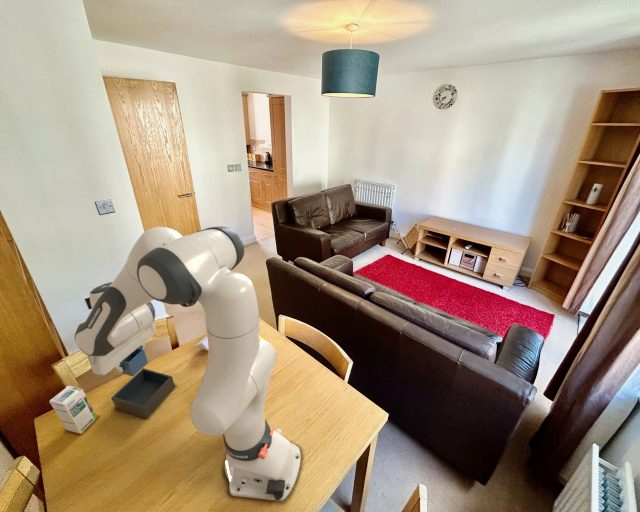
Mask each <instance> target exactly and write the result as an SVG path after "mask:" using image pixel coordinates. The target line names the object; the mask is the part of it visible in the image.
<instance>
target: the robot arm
mask: <svg viewBox="0 0 640 512" xmlns="http://www.w3.org/2000/svg"><path fill="white" fill-rule="evenodd" d="M244 256H245V247H244V243H243V240H242V239H241V237H240V235H239V234H238V233H237V232H236V231H235V230H233V229H232V228H230V227H228V226H212V227H207V228H204V229H200V230H198V231H196V232H193V233H191V234H186V235H182V234H181V233H180V232H179V231H177V230H175V229H174V228H170V227H167V226H154V227H151V228H149V229H146V230H145V231H144V232H142V234H141V235H140V236H139V237H138V239H137V240H136V241H135V243H134V244H133V246H132V248H131V250H130V251H129V254H128V257H127V259H126V262H125V264H124V265H123V266H122V268H121V270H120V271H119V273H118V274H117V276H116V277H115V278H114V280H113V281H110V282H106V283H103V284H101V285H99V286H96V287H95V288H93V289H91V291H90V292H89V295H88V296H89V302H90V306H91V311H90V312H89V314H88V317H87V318H86V320H85V321H84V322H82V323H79V324H78V326H77V328H76V330H75V333H74V342H75V343H76V346H77V348H78V349H79V350H80V351H81V352H82V353H83V354H85V355H87V359H88V361H89V365H90V368H91V371H92V373H93V374H95V375H97V376H106V375H107V374H109V372H111V371H112V370H113V369H116V371H117V372H118V373H119V374H123V373H122V372H123V371H124V370H126V369H125V366H123V365H120V362H122V361H123V360H124V359H125V358H126V357H128V356H129V355H130V354H131V353H132V352H134V351H135V350H136V349H137V348H139V349H143V350H144V351H145V347H146V342H147V341H148V340H150V339H151V338H152V337H153V336H154V335H155V334H156V331H157V329H156V325H155V323H154V322H155V319H156V310H155V307H154V305H153V302H152V301H153V300H154V301H157V302H160V303H164V304H166V305H167V304H168V305H180V306H181V307H183V308H188V307H189V308H190V307H193V306H194V305H196V304H197V302H198V303H199V304H200V305H201V306H202V309H203V312H204V321H205V322H204V323H205V330H206V336H207V337H208V348H209V351H208V356H207V360H206V361H207V362H206V365H205V370H204V373H203V377H202V379H201V383H200V386H199V388H198V391H197V392H196V395H195V397H194V399H193V400H192V402H191V404H190V407H189V417H190V420H191V423H192V425H193V427H194V428H195V430H197V431H198V432H199V433H201V434H203V435H204V436H207V437H219V436H223V447H224V449H225V452H226V455H225V456H226V457H225V459H224V473H225V476H226V478H227V481H228V484H229V494H230V495H231V496H232V497H241V498H249V499H259V500H268V501H277V502H282V501H285V499H287V497H288V496H289V495H290V493H291V492H292V490H293V488H294V487H295V485H296V481H297V478H298V476H299V472H300V467H301V461H302V460H301V459H302V457H301V456H302V455H301V450H300V448H299V447H298V446H297V445H295V444H294V443H292V442H291V441H289V439H287V438H286V437H284V436H283V431H282V429H280V428H279V427H277V428H275V426H274V425H273V426H272V427H271V426H270V425H269V423H268V421H267V419H266V414H265V406H266V401H267V398H268V394H269V393H268V392H269V388H270V383H271V379H272V375H273V372H274V369H275V366H276V364H277V361H278V354H277V351H276V349H275V347H274V346H273V345H272V344H271V343H270V342H269V341H268V340H266V339H264V338H263V339H264V340H263V339H260V336H261V334H260V333H261V331H260V330H261V329H260V310H259V304H258V299H257V297H258V296H257V294H256V290H255V286H254V283H253V282H252V280H251V279H250V278H249V276H247V275H245V274H243V273H241V272H237V271H236V272H235V271H233V270H234V269H235V268H236V267H237V266H238V265H239V264H240V263H241V262H242V260H243V258H244ZM287 488H288V489H287Z"/></svg>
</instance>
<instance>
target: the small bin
mask: <svg viewBox="0 0 640 512" xmlns="http://www.w3.org/2000/svg"><path fill="white" fill-rule="evenodd" d="M148 364H149V361H148V358H147V355H146V352H145V349H144V350H143V349H139V348H137V349H136V350H135V351H134V352H132V353H131V354H130V355H129V356H128V357H126V358H125V359H124V360H123V361H122V362H120V365H123V366H125V369H126V370H124V371H123V372H122V373H121V374H123V375H126V376H129V377H134V376H135V375H136V374H137V373H139V372H140V371H141V370H142V369H143V368H144V367H145V366H147V365H148Z"/></svg>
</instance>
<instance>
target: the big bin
mask: <svg viewBox="0 0 640 512" xmlns="http://www.w3.org/2000/svg"><path fill="white" fill-rule="evenodd" d="M175 387H176V385H175V382H174V379H173V375H169V374H165V373H162V372H159V371H156V370H155V371H154V370H151V369H149V368H148V369H147V368H144V367H143V368H142V369H141V370H140V371H139V372H138V373H137V374H136V375H135V376H132V378H131V379H130V380H129V381H128V382H127V383H125V384H124V385H123V386H122V387H121V388H120V389H119V390H117V392H116V393H114V394H113V396H111V400H112V402H113V405H114V408H115V409H117V410H120V411H123V412H126V413H129V414H132V415H134V416H137V417H140V418H143V419H148V418H149V417H150V416H151V414H153V412H154V411H155V410H156V409H157V408H158V407H159V405H161V403H162V402H163V401H164V400H165V398H167V396H169V394H170V393H171V392H172V391H173V390H174V388H175Z"/></svg>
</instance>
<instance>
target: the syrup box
mask: <svg viewBox="0 0 640 512" xmlns="http://www.w3.org/2000/svg"><path fill="white" fill-rule="evenodd" d="M49 404H50V406H51V407H52V408H53V410H54V412H55V413H56V415H57V416H58V418H59V420H60V421H61V423H62V424H63V426H64V427H65V429H66V431H68V432H73V433H77V434H80V435H81V434H83V433H84V431H86V429H87V428H89V427H90V426H91V425H92V424H93V423H94V422H95V421H96V420H97V419H98V416H97V414H96V412H95V410H94V409H93V407H92V404H91V403H90V401H89V399H88V397H87V395H86V393H85V392H84V389H82V388H81V387H77V386H73V385H67V386H66V387H65V388H64V389H62V390H61V391H59V392H58V393H57V394H56V395H55V396H54V397H52V398H51V399H50V400H49Z"/></svg>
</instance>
